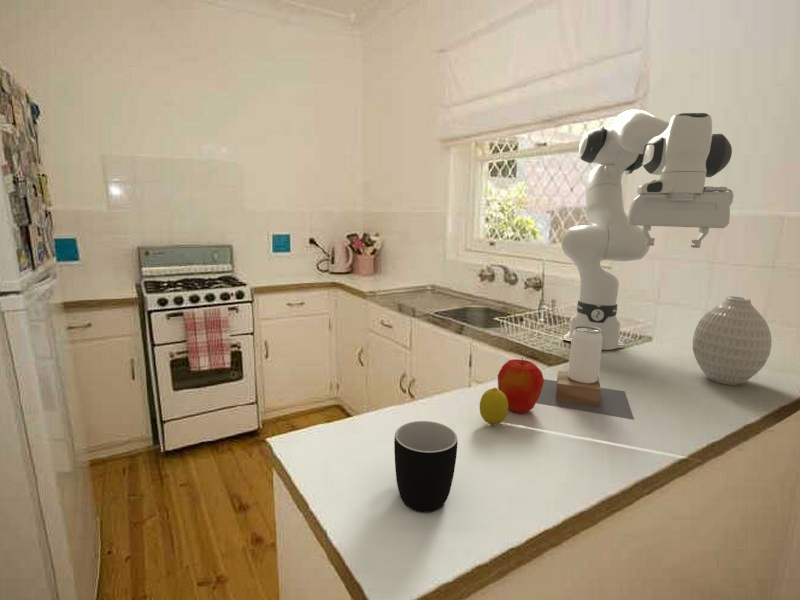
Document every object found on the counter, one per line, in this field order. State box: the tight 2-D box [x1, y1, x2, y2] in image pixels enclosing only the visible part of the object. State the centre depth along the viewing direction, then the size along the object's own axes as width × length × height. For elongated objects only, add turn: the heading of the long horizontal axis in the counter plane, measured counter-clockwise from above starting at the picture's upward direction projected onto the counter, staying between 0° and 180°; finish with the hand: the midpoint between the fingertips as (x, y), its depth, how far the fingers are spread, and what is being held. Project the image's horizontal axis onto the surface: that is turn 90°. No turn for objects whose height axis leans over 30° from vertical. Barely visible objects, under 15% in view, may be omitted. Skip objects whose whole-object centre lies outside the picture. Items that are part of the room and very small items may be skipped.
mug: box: [393, 420, 458, 513], centre depth 64 cm, size 12×9×10 cm
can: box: [567, 326, 603, 384], centre depth 100 cm, size 6×6×12 cm
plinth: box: [556, 370, 602, 407], centre depth 101 cm, size 9×9×4 cm
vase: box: [692, 295, 773, 386], centre depth 113 cm, size 16×16×22 cm
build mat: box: [536, 378, 635, 420], centre depth 101 cm, size 16×22×1 cm
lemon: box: [479, 387, 509, 427], centre depth 86 cm, size 6×6×8 cm
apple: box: [497, 357, 545, 414], centre depth 92 cm, size 9×9×12 cm
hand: (672, 246), depth 103 cm, fingers open, 8 cm apart
